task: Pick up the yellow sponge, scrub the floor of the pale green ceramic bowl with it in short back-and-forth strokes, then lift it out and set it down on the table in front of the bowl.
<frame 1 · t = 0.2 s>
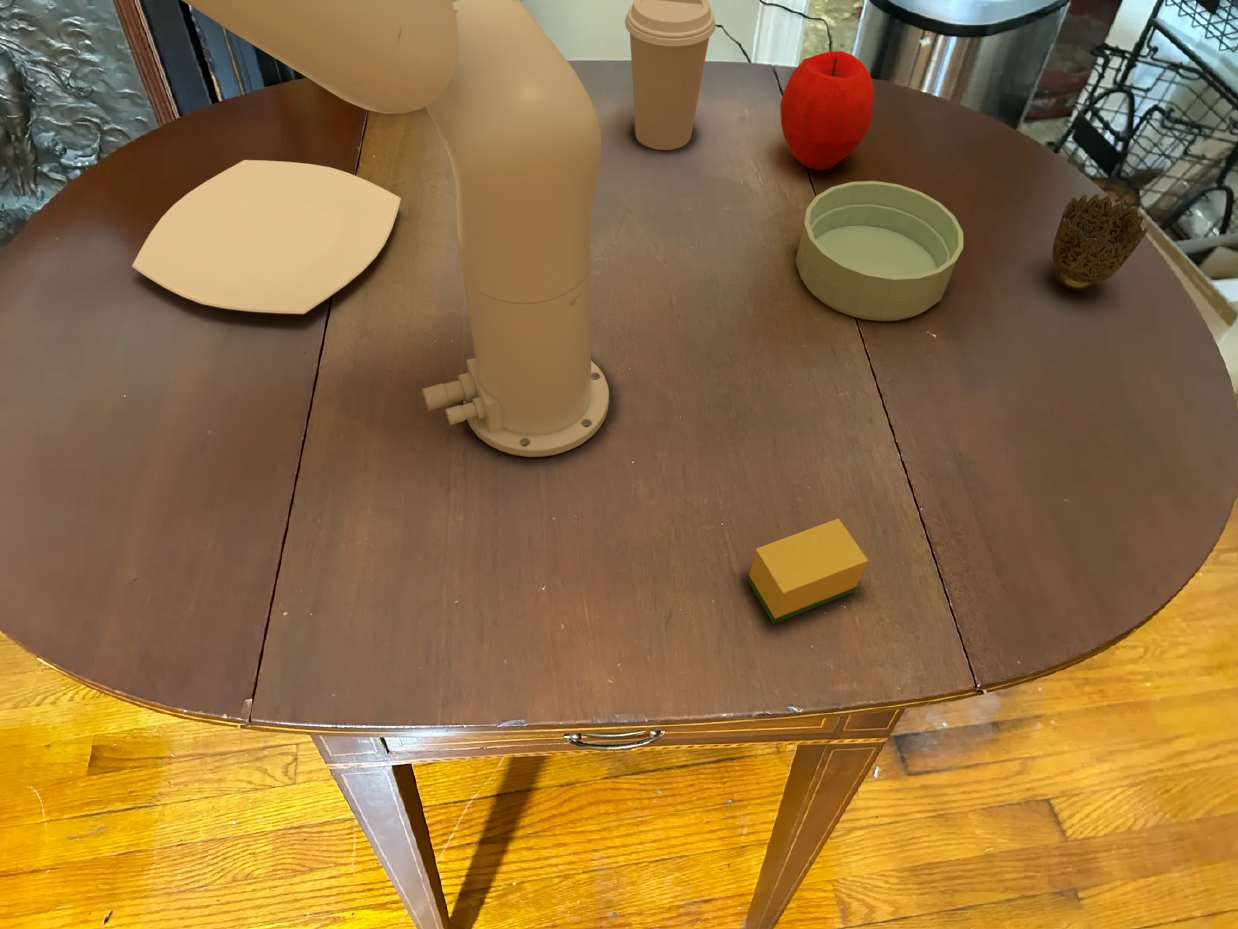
apple: (815, 161, 103), on the table
sponge: (800, 586, 68), on the table
bowl: (869, 272, 91), on the table
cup: (1070, 284, 91), on the table
coffee cup: (663, 135, 106), on the table
plate: (277, 247, 92), on the table
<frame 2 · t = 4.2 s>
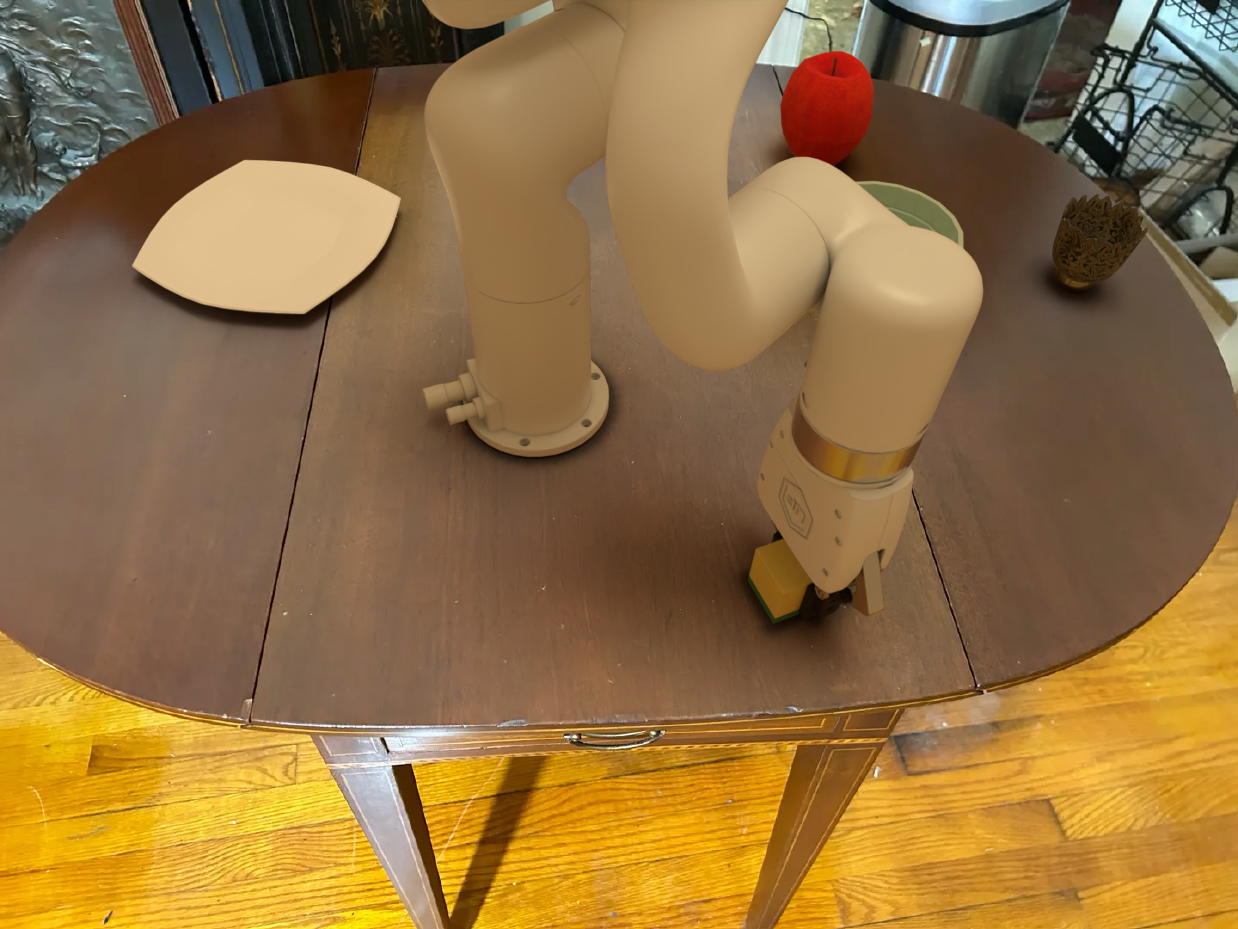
hand: (802, 582, 68), 1 cm above the table, tool pointing down, fingers closed on sponge, 4 cm apart
sponge: (800, 586, 68), on the table, touching gripper
everything else where it was.
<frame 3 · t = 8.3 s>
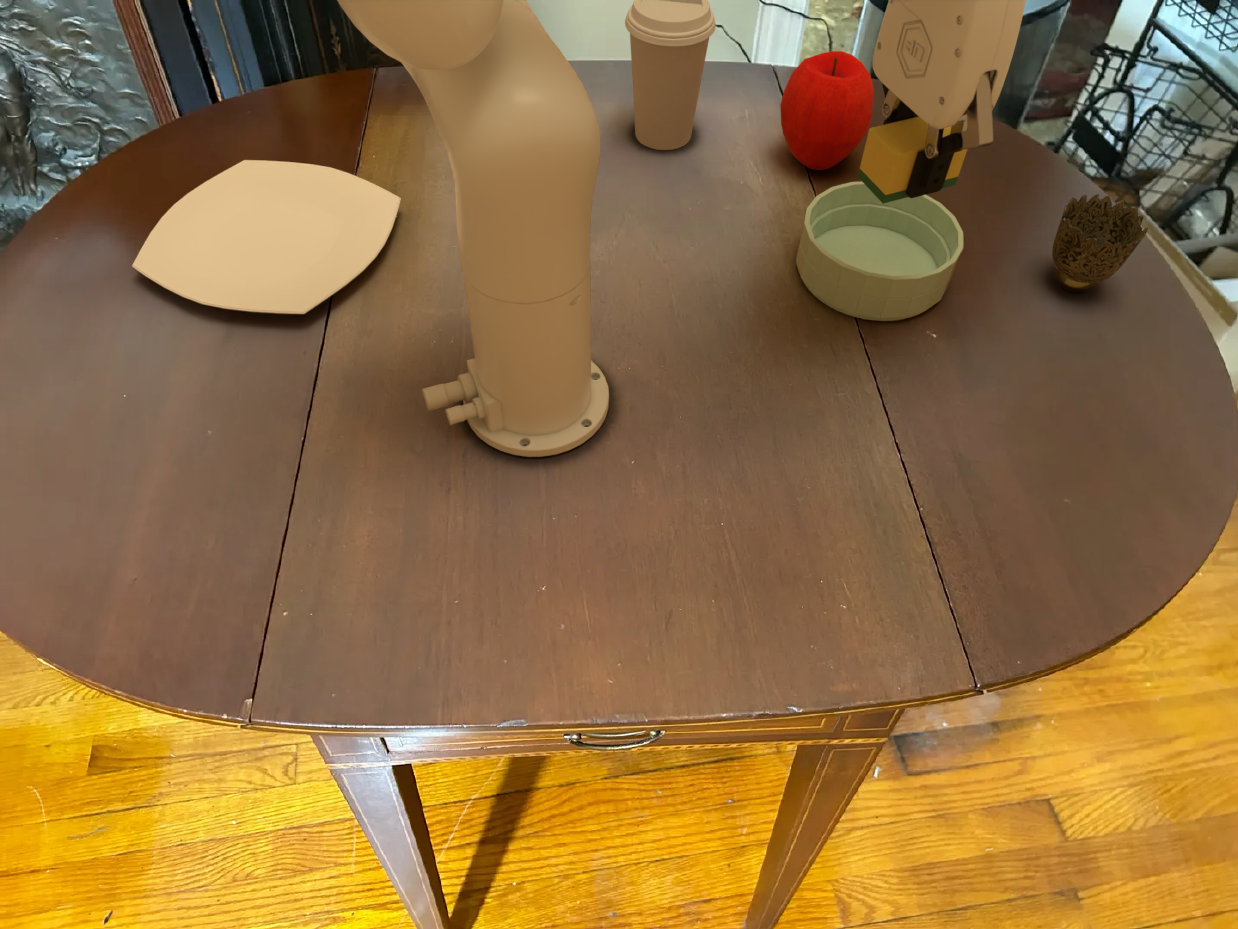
hand: (907, 174, 75), 16 cm above the table, tool pointing down, fingers closed on sponge, 4 cm apart
sponge: (906, 180, 75), point 15 cm above the table, touching gripper
everything else where it was.
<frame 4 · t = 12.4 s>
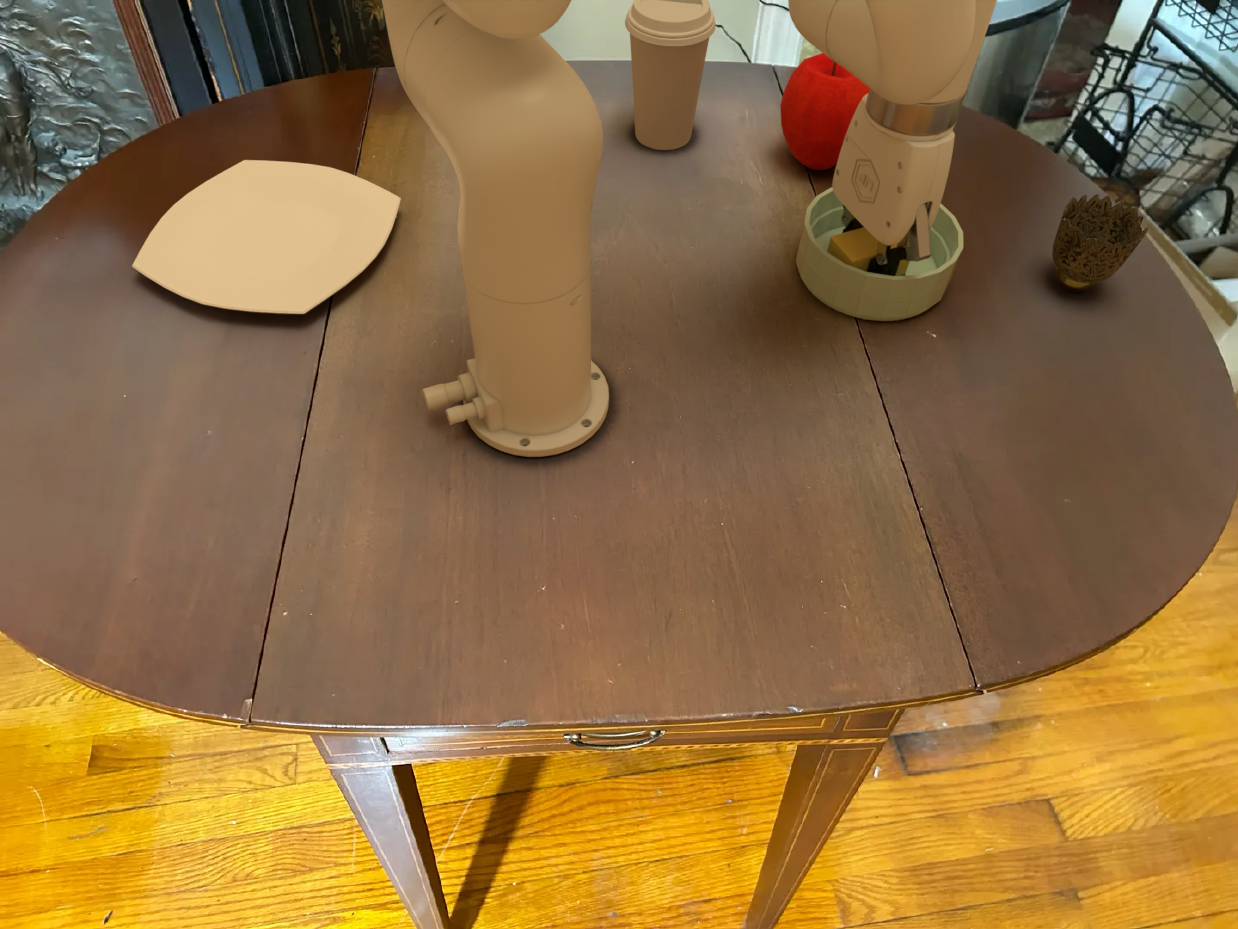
hand: (863, 272, 89), 1 cm above the table, tool pointing down, fingers closed on sponge, 4 cm apart
sponge: (862, 276, 90), point 1 cm above the table, touching gripper
everything else where it was.
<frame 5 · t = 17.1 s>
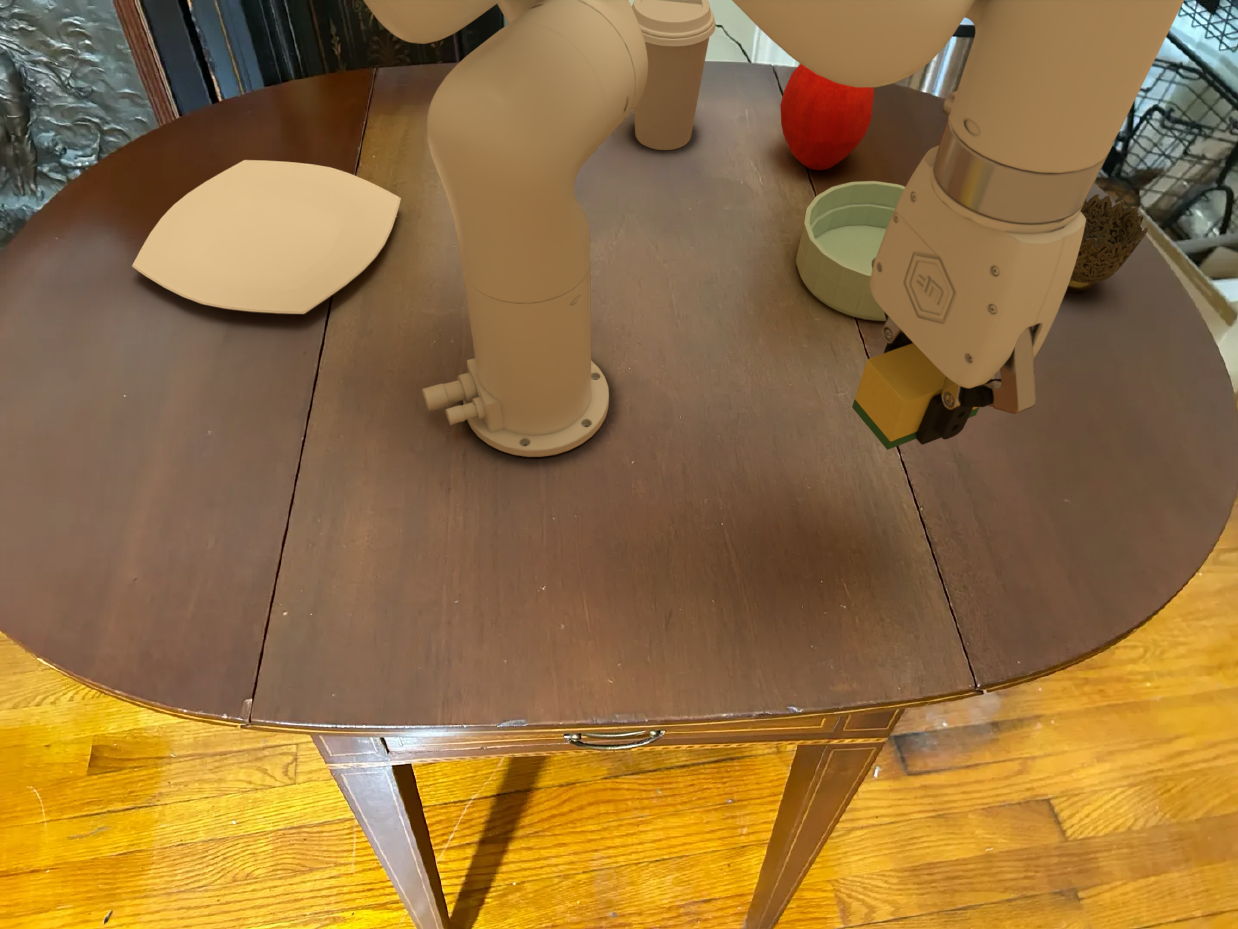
hand: (915, 407, 59), 15 cm above the table, tool pointing down, fingers closed on sponge, 4 cm apart
sponge: (913, 411, 59), point 15 cm above the table, touching gripper
everything else where it was.
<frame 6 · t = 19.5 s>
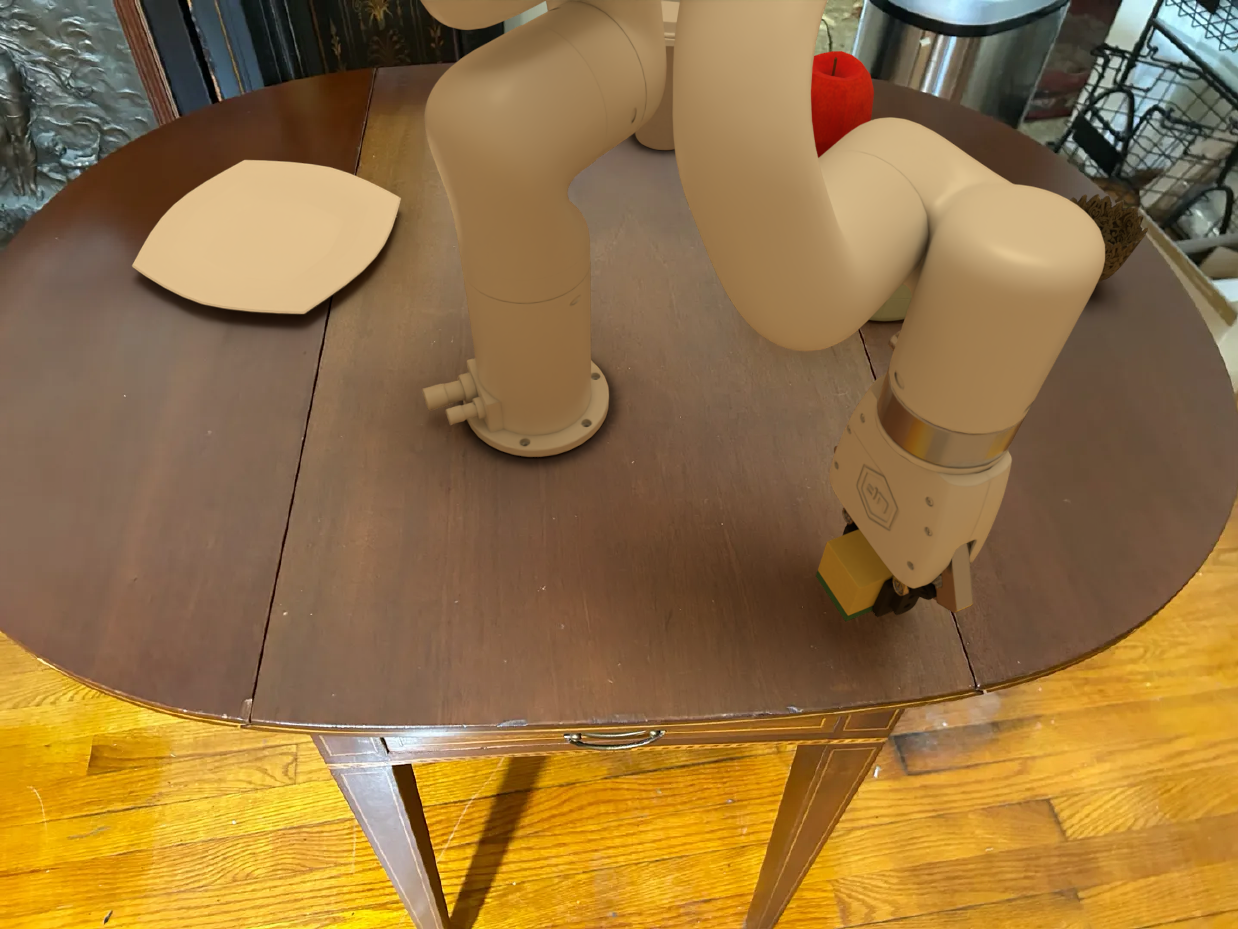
hand: (873, 578, 64), 4 cm above the table, tool pointing down, fingers closed on sponge, 4 cm apart
sponge: (872, 581, 64), point 4 cm above the table, touching gripper
everything else where it was.
when the fingers open (0 cm above the table, at t = 20.8 s): sponge stays where it is, on the table.
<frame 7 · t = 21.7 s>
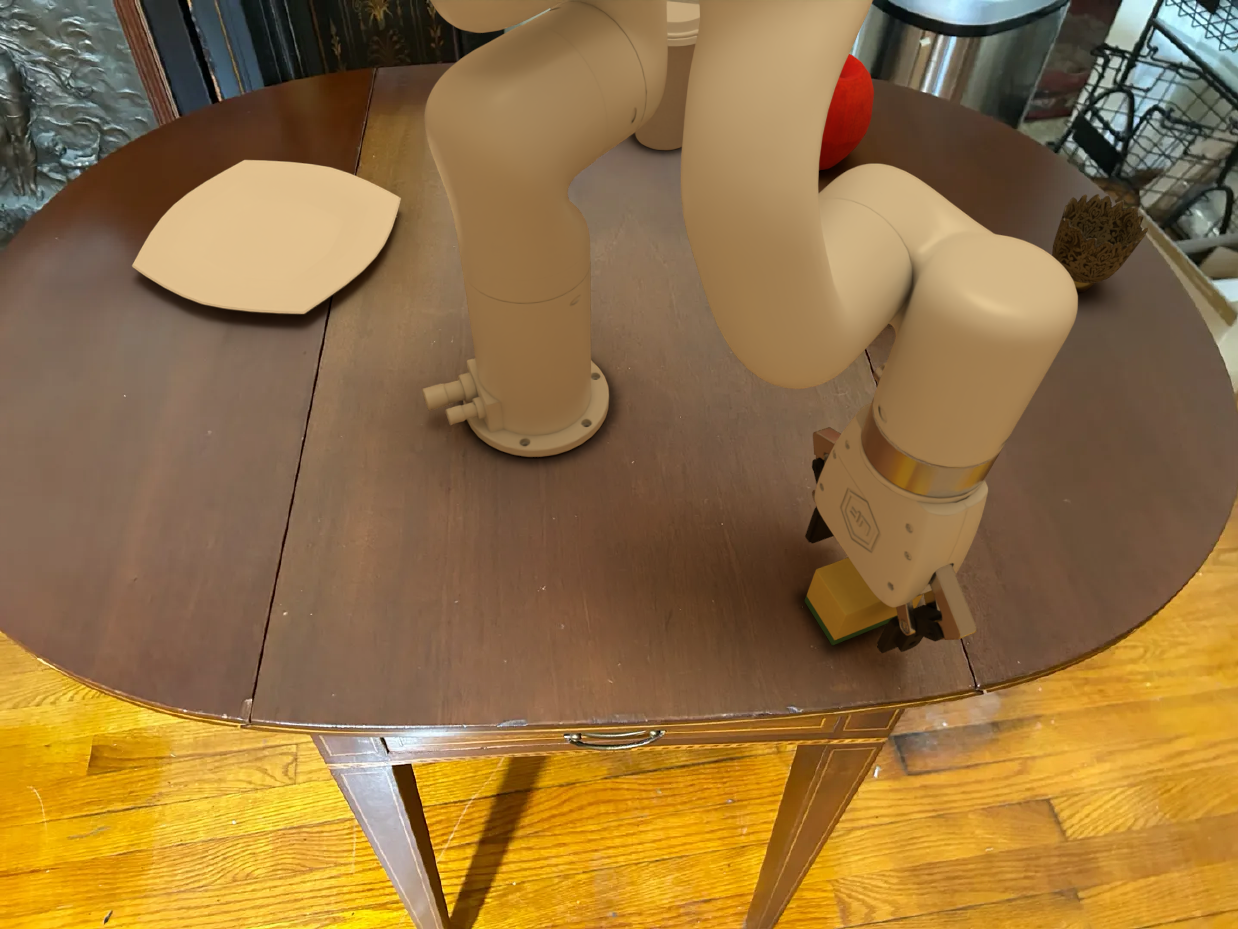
hand: (859, 586, 66), 2 cm above the table, tool pointing down, fingers open, 9 cm apart
sponge: (858, 607, 68), on the table
everything else where it was.
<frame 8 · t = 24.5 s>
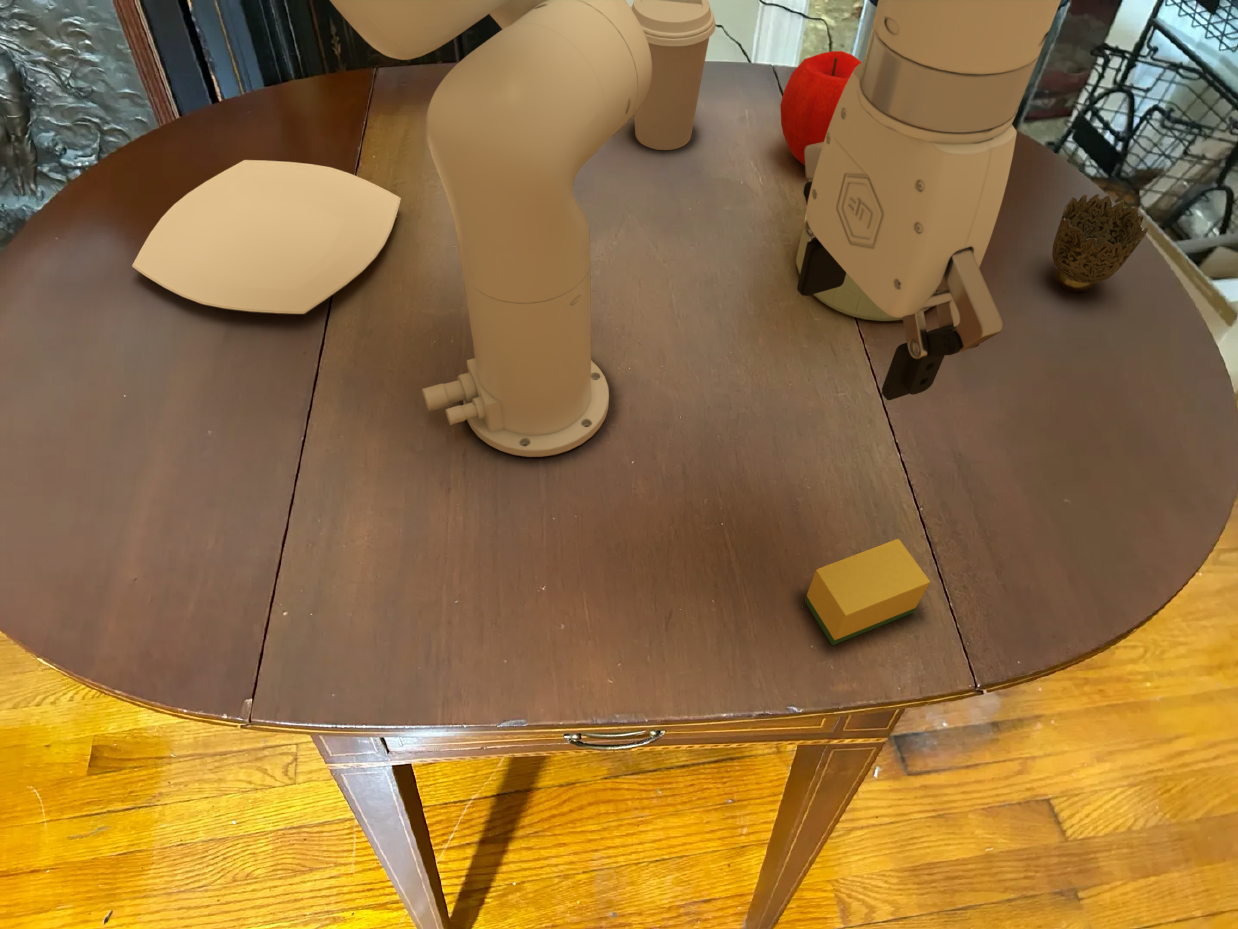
hand: (860, 337, 56), 20 cm above the table, tool pointing down, fingers open, 9 cm apart
nothing on the table moved.
at the end: the gripper is holding nothing; sponge tilted 0° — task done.
